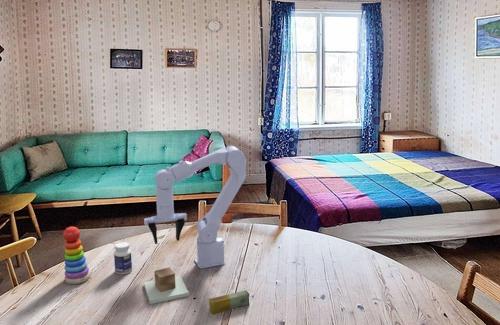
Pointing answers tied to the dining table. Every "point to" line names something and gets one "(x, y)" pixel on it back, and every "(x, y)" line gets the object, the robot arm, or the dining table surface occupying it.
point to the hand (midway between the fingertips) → (166, 241)
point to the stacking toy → (74, 258)
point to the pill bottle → (122, 258)
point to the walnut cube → (164, 279)
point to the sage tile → (158, 296)
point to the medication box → (228, 302)
